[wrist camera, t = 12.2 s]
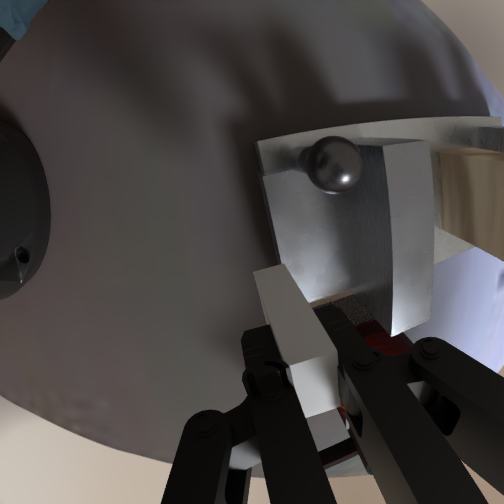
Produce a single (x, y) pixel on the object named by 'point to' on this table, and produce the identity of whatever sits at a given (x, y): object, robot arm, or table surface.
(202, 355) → the table surface
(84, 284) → the table surface
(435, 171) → the vise bed
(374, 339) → the mug
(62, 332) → the table surface
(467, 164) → the block
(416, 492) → the robot arm
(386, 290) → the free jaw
